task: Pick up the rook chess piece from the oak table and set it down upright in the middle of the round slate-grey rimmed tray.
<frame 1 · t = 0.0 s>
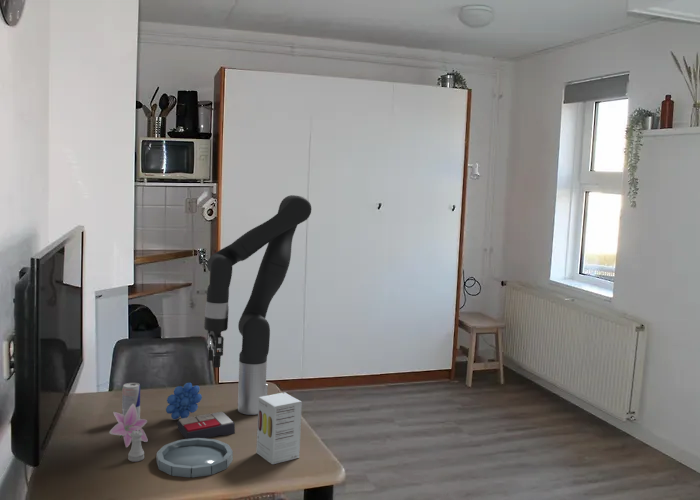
hand: (213, 363, 220), 17 cm above the table, tool pointing down, fingers open, 8 cm apart
round tray: (194, 460, 185), on the table
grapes: (182, 418, 217), on the table
calculator: (205, 432, 207), on the table
energy drink: (131, 422, 212), on the table
supplement box: (277, 456, 191), on the table
rook chess piece: (136, 459, 185), on the table
lily: (128, 442, 196), on the table
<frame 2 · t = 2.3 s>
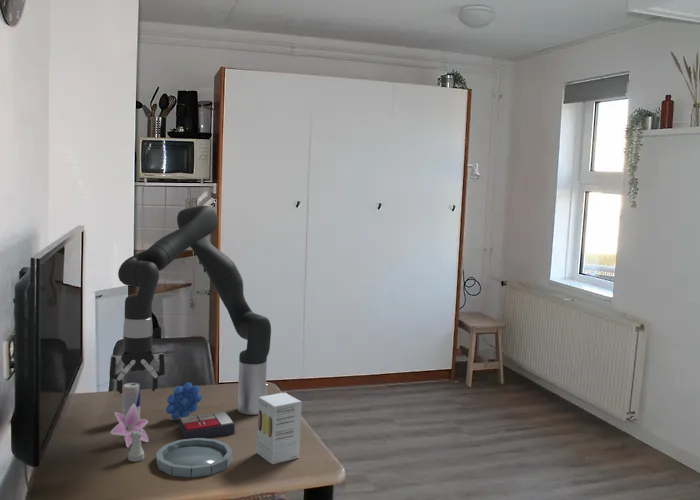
hand: (137, 391, 183), 19 cm above the table, tool pointing down, fingers open, 8 cm apart
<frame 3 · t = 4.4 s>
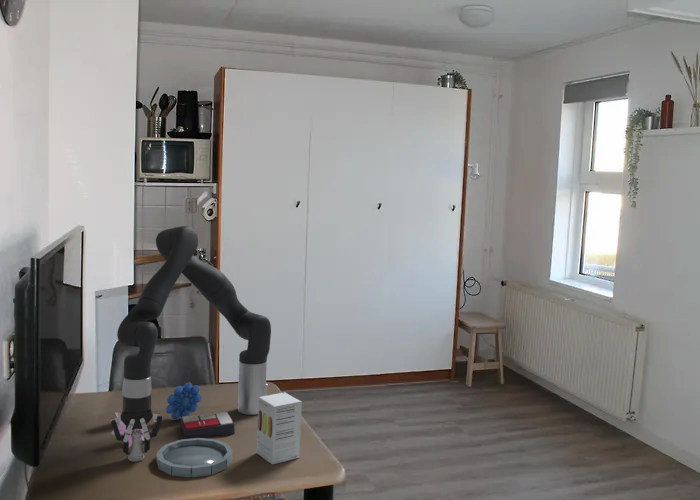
hand: (136, 452, 185), 2 cm above the table, tool pointing down, fingers closed on rook chess piece, 4 cm apart
rook chess piece: (136, 459, 185), on the table, touching gripper
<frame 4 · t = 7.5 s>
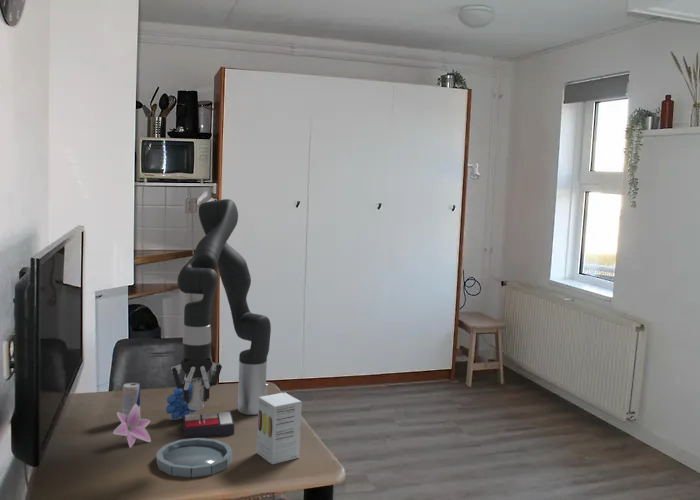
hand: (195, 401, 184), 17 cm above the table, tool pointing down, fingers closed on rook chess piece, 4 cm apart
rook chess piece: (195, 408, 184), point 15 cm above the table, touching gripper
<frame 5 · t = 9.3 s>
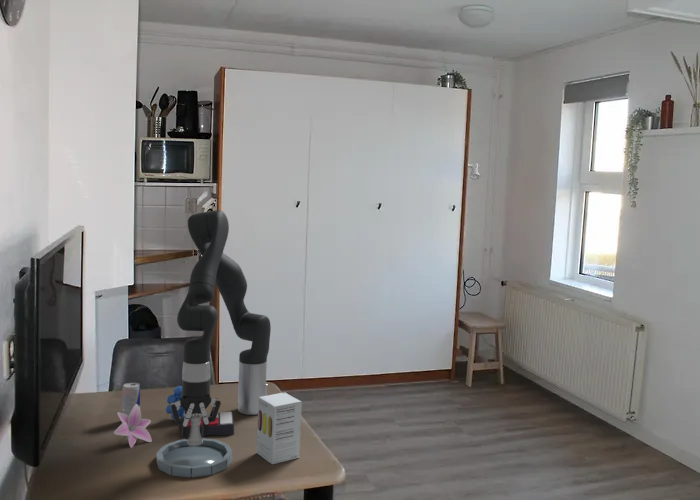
hand: (194, 437, 185), 7 cm above the table, tool pointing down, fingers closed on rook chess piece, 4 cm apart
rook chess piece: (194, 444, 185), point 5 cm above the table, touching gripper
when the fingers open (4 cm above the table, at t = 10.8 s): rook chess piece stays where it is, resting on round tray.
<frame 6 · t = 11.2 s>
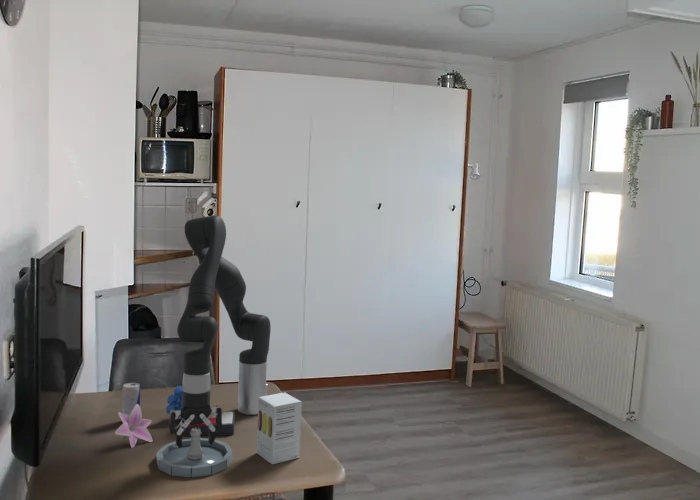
hand: (195, 445, 185), 5 cm above the table, tool pointing down, fingers open, 8 cm apart
rook chess piece: (195, 458, 185), point 1 cm above the table, touching round tray
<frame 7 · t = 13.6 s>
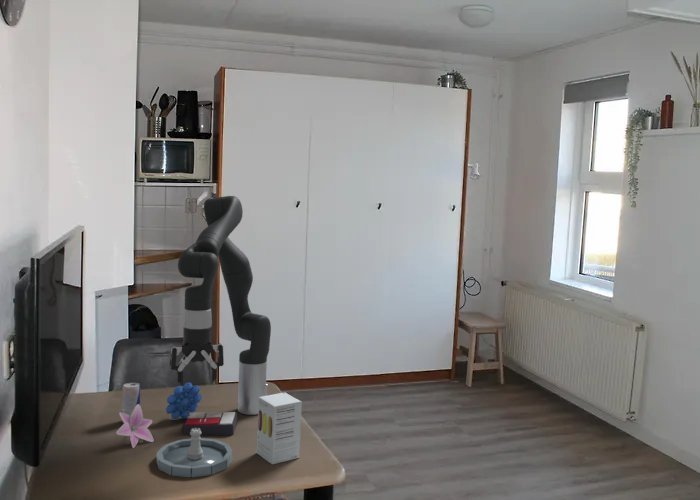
hand: (196, 382, 184), 22 cm above the table, tool pointing down, fingers open, 8 cm apart
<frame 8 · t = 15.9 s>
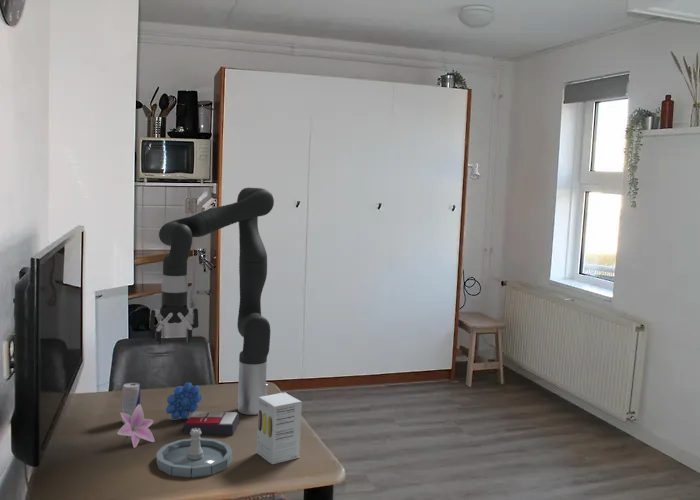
hand: (173, 342, 202), 28 cm above the table, tool pointing down, fingers open, 8 cm apart
at the end: rook chess piece inside the target area on the round tray (0.1 cm from its centre), point 0.8 cm above the round tray's base; rook chess piece tilted 0°; the gripper is holding nothing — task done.
